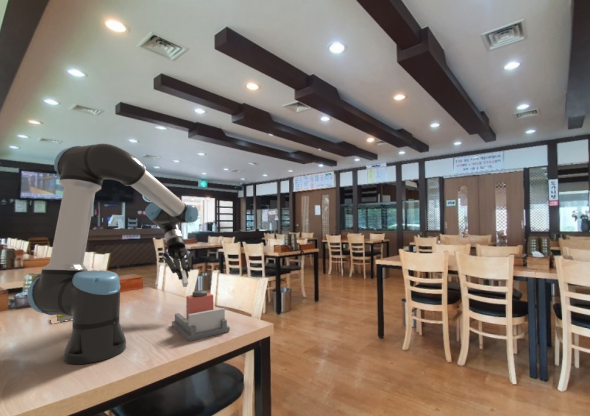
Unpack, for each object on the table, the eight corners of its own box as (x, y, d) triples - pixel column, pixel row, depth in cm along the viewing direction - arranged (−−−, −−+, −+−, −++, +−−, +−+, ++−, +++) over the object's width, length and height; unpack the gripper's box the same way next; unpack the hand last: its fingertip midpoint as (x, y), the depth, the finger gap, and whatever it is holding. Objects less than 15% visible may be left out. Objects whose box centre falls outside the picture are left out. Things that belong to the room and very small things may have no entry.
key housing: (188, 341, 97) (187, 317, 98) (171, 325, 114) (171, 304, 114) (229, 331, 106) (229, 309, 106) (208, 317, 122) (208, 298, 122)
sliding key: (190, 328, 105) (190, 295, 106) (186, 324, 109) (186, 292, 110) (213, 323, 110) (213, 291, 110) (208, 320, 114) (208, 289, 114)
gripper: (187, 246, 145) (199, 288, 130) (158, 248, 137) (167, 292, 123) (191, 235, 141) (203, 277, 126) (160, 236, 133) (170, 281, 119)
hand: (185, 284), depth 124 cm, fingers closed
